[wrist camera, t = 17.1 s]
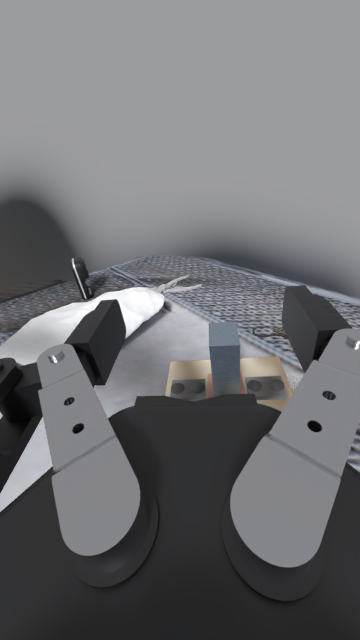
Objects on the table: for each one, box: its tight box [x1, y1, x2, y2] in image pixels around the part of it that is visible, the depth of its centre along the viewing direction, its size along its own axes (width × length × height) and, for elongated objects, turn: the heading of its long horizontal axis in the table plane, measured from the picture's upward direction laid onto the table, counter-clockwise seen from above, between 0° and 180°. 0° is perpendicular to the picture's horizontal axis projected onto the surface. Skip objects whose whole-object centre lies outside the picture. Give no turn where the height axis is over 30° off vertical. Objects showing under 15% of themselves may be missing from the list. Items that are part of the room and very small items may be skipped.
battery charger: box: [70, 258, 93, 299], centre depth 75 cm, size 7×4×11 cm, turn 21°
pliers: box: [150, 276, 202, 293], centre depth 74 cm, size 10×2×15 cm
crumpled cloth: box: [0, 287, 165, 365], centre depth 54 cm, size 24×35×9 cm
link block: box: [209, 322, 240, 397], centre depth 34 cm, size 4×5×10 cm
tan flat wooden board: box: [165, 356, 293, 412], centre depth 36 cm, size 18×14×2 cm
